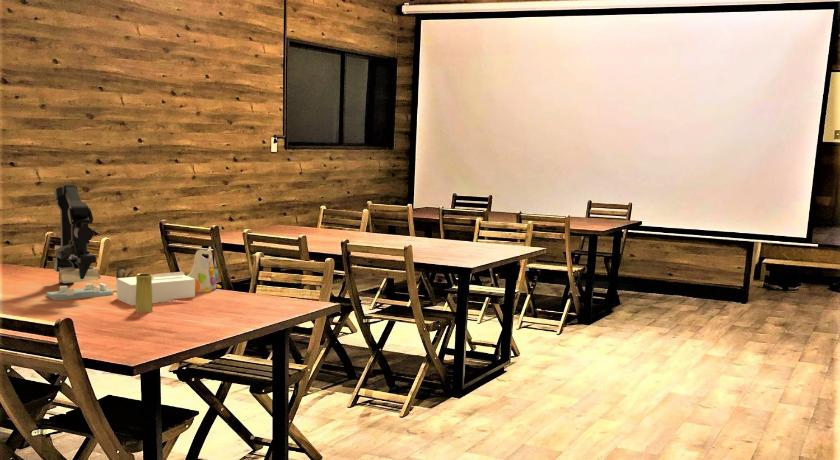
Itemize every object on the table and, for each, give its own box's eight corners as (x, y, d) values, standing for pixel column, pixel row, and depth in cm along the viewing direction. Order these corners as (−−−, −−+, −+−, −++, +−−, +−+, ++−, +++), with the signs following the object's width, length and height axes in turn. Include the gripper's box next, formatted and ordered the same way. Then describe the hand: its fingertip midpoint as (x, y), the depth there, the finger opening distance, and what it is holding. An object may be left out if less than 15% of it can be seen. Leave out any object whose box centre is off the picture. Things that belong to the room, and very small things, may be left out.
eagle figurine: (137, 287, 355) (137, 266, 354) (131, 291, 348) (131, 269, 347) (118, 287, 355) (118, 265, 354) (112, 290, 348) (112, 268, 347)
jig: (46, 296, 333) (46, 287, 332) (102, 290, 348) (102, 281, 347) (55, 301, 326) (55, 291, 325) (113, 294, 340) (113, 286, 340)
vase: (147, 311, 315) (147, 272, 314) (155, 314, 311) (156, 275, 309) (131, 313, 311) (131, 274, 309) (139, 316, 307) (139, 277, 305)
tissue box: (116, 300, 332) (116, 272, 330) (179, 294, 348) (179, 267, 346) (131, 308, 321) (131, 278, 319) (194, 301, 337) (195, 273, 335)
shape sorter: (205, 297, 344) (205, 252, 342) (180, 294, 346) (180, 250, 344) (226, 287, 363) (226, 245, 361) (202, 285, 365) (202, 243, 363)
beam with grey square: (59, 281, 333) (59, 268, 332) (96, 277, 342) (96, 265, 342) (63, 283, 330) (63, 270, 329) (100, 279, 339) (100, 267, 339)
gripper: (49, 235, 335) (49, 275, 337) (67, 242, 321) (67, 284, 323) (78, 234, 343) (78, 273, 345) (97, 240, 329) (97, 281, 331)
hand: (79, 278), depth 336 cm, fingers closed on beam with grey square, 4 cm apart
